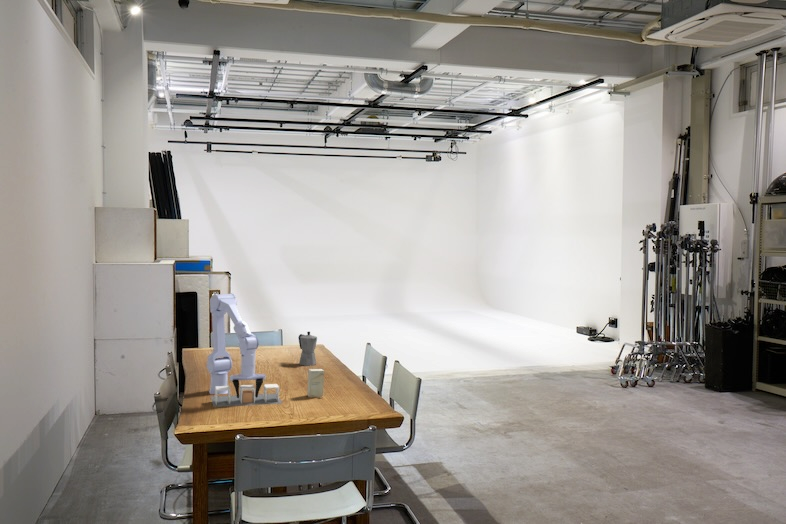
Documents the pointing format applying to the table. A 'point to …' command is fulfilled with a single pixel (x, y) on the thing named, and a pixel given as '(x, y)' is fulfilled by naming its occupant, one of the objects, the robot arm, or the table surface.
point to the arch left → (222, 388)
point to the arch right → (271, 386)
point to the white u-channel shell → (247, 387)
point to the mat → (236, 402)
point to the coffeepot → (307, 349)
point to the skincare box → (315, 382)
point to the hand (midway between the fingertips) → (247, 397)
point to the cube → (247, 396)
